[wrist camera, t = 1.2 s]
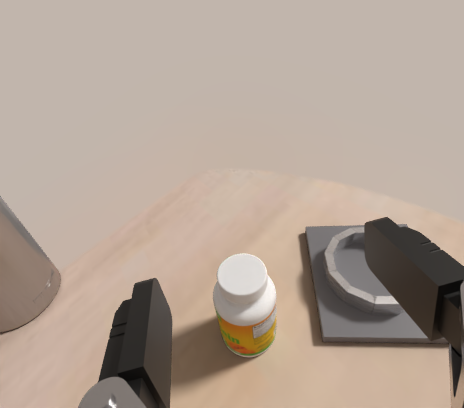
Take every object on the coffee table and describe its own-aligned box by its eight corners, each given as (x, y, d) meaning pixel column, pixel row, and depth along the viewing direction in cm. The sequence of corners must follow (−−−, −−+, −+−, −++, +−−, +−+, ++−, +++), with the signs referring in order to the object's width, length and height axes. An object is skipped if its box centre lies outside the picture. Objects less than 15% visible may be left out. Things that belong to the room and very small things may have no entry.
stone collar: (332, 314, 30) (335, 303, 29) (318, 239, 37) (319, 228, 36) (438, 315, 29) (445, 303, 28) (402, 238, 36) (407, 226, 35)
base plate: (322, 341, 29) (323, 336, 29) (305, 232, 40) (305, 226, 39) (458, 343, 28) (463, 338, 27) (404, 229, 38) (406, 224, 38)
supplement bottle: (211, 327, 31) (194, 270, 25) (251, 296, 34) (245, 236, 27) (245, 371, 28) (236, 318, 22) (287, 333, 30) (290, 275, 24)
